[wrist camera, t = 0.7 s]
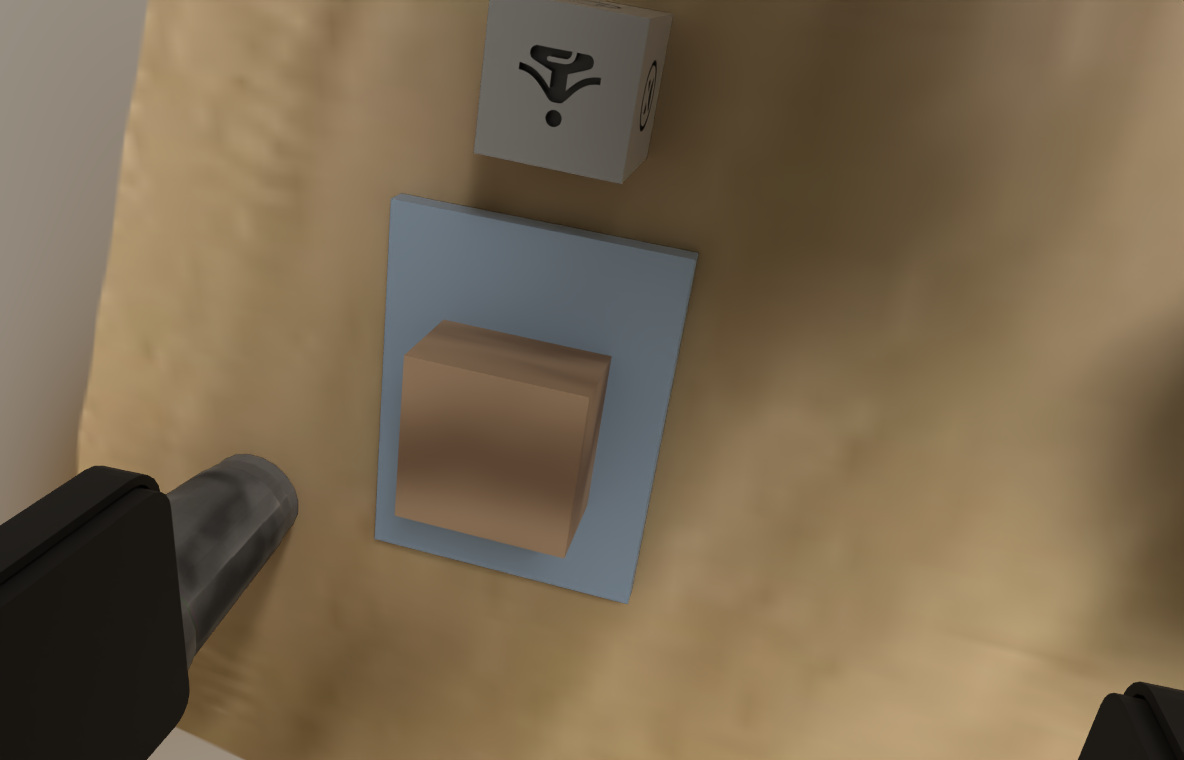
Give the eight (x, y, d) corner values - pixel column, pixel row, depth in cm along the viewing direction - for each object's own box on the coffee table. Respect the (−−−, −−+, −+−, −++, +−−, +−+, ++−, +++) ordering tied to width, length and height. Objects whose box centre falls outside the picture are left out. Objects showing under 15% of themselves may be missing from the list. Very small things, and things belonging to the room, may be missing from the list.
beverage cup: (196, 404, 43) (-252, 709, 25) (338, 463, 42) (-13, 817, 24) (178, 524, 46) (-229, 872, 28) (310, 581, 45) (-18, 971, 27)
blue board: (401, 193, 36) (390, 198, 35) (698, 252, 35) (695, 259, 34) (383, 527, 43) (374, 538, 42) (631, 590, 41) (627, 604, 40)
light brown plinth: (443, 319, 37) (403, 355, 33) (611, 356, 36) (589, 397, 32) (432, 468, 40) (394, 515, 36) (587, 505, 39) (564, 558, 35)
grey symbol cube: (673, 13, 32) (650, 18, 27) (647, 157, 34) (621, 184, 29) (535, -12, 32) (490, -12, 28) (518, 130, 34) (473, 153, 30)
